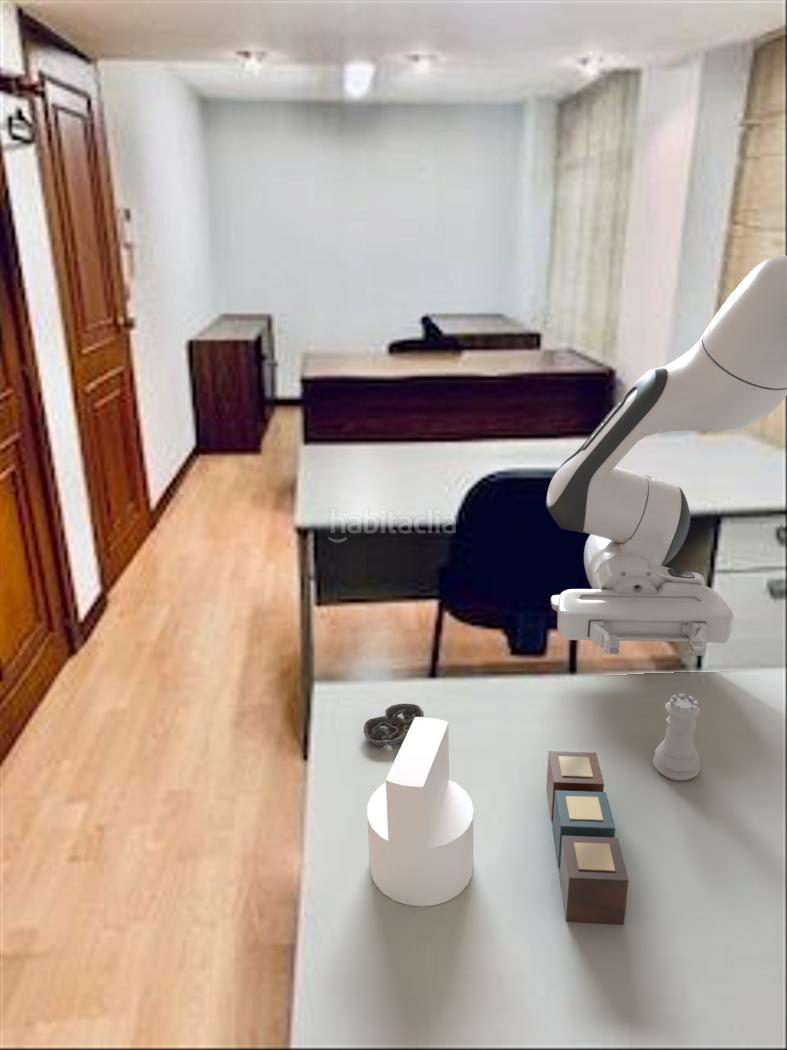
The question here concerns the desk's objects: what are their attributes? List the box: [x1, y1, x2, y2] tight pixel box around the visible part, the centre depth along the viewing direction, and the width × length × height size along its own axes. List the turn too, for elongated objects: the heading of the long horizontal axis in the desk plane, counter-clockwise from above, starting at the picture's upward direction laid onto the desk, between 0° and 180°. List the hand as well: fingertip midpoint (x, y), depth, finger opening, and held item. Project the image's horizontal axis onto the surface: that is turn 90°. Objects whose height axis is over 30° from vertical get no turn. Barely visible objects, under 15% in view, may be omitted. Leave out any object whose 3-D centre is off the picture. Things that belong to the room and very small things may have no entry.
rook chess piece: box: [652, 693, 702, 782], centre depth 75 cm, size 4×4×8 cm
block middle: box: [552, 790, 616, 869], centre depth 66 cm, size 4×4×5 cm
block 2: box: [559, 836, 629, 925], centre depth 61 cm, size 4×4×5 cm
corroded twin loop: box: [363, 703, 425, 746], centre depth 84 cm, size 5×8×1 cm, turn 139°
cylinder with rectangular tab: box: [366, 716, 475, 908], centre depth 64 cm, size 9×9×12 cm
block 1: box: [546, 750, 605, 823], centre depth 71 cm, size 4×4×5 cm
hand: (655, 649), depth 85 cm, fingers open, 8 cm apart
